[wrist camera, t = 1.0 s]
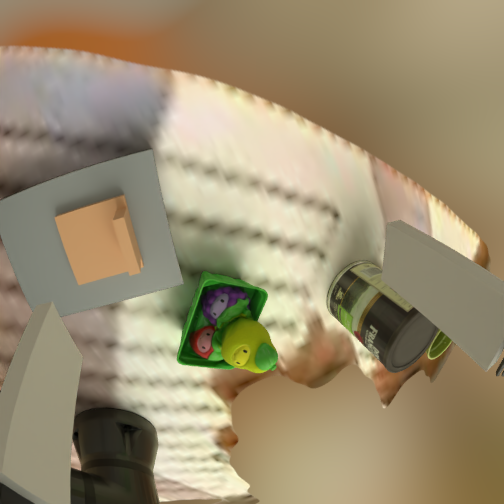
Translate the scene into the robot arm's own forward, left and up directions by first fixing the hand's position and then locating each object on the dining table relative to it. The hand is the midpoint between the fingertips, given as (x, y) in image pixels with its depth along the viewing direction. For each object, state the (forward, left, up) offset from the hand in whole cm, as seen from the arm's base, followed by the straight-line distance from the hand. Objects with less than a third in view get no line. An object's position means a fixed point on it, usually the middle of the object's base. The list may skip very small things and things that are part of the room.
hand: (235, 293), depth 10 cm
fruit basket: (-15, -2, -22) cm, 27 cm away
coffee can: (-20, -23, -22) cm, 38 cm away
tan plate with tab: (-2, +8, -19) cm, 21 cm away
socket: (-2, +10, -22) cm, 25 cm away
